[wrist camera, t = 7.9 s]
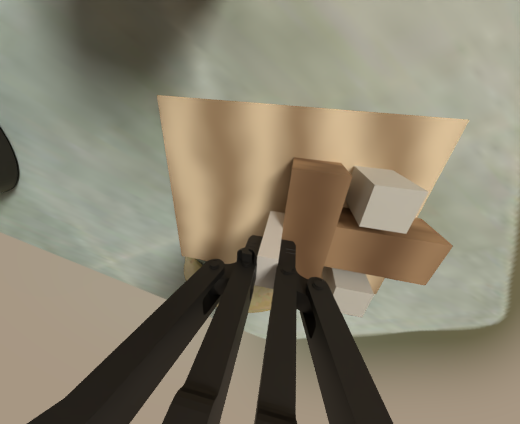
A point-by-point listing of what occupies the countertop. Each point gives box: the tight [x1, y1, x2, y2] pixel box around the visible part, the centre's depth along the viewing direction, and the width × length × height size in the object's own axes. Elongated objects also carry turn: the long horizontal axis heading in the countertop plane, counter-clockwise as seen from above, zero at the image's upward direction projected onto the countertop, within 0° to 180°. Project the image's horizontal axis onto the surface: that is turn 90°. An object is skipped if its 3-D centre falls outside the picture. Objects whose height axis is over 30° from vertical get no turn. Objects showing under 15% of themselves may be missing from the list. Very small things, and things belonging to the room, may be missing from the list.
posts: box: [322, 166, 428, 317], centre depth 16 cm, size 3×12×5 cm, turn 176°
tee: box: [282, 157, 453, 285], centre depth 17 cm, size 12×12×4 cm
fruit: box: [184, 257, 273, 313], centre depth 25 cm, size 7×15×3 cm, turn 86°
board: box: [157, 95, 469, 294], centre depth 19 cm, size 24×18×1 cm
